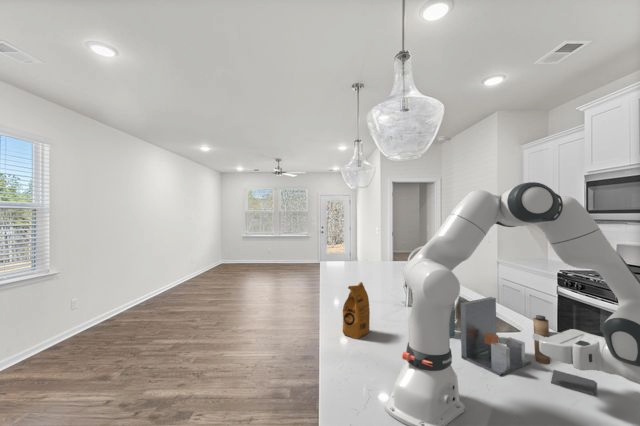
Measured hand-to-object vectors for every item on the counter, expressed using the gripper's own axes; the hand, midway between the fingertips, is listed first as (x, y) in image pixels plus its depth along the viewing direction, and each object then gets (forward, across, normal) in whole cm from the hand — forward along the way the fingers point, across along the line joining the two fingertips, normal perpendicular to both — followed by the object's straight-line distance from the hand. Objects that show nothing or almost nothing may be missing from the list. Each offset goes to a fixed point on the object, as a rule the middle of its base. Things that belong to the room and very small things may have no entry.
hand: (538, 334), depth 92 cm
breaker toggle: (+15, 0, +13) cm, 20 cm away
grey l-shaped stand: (+14, 0, +14) cm, 20 cm away
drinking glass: (+40, -4, +14) cm, 43 cm away
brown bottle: (-1, 0, +8) cm, 8 cm away
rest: (-6, -7, +14) cm, 17 cm away
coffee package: (+58, +30, +14) cm, 67 cm away
